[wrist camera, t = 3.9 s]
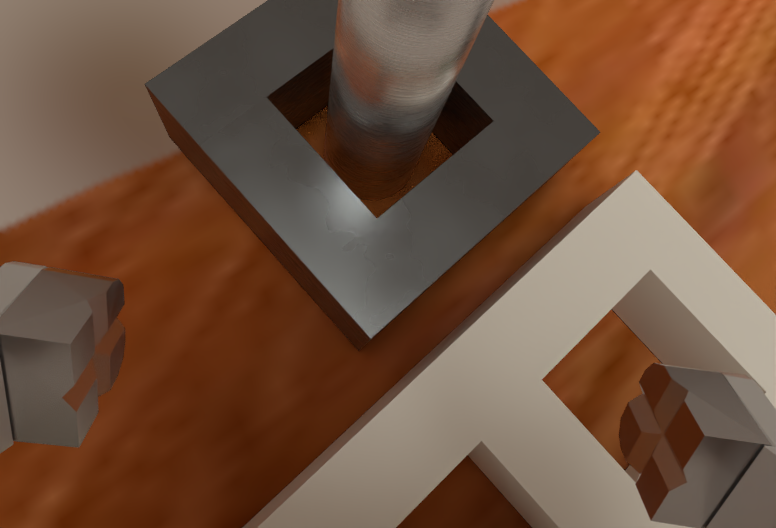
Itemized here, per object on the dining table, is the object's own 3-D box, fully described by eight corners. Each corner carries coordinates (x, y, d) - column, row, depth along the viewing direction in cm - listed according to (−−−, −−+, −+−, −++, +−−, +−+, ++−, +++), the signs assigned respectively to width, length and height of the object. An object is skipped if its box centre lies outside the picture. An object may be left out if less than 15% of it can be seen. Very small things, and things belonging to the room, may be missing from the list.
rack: (234, 534, 24) (220, 562, 19) (585, 206, 29) (636, 170, 24) (452, 793, 23) (489, 884, 18) (775, 407, 28) (864, 406, 23)
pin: (304, 150, 27) (310, -103, 14) (372, 97, 28) (439, -187, 15) (366, 218, 27) (432, 26, 14) (432, 162, 28) (556, -68, 15)
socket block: (169, 137, 27) (144, 84, 22) (378, -12, 30) (392, -85, 25) (358, 350, 26) (370, 338, 21) (554, 174, 29) (600, 132, 24)
